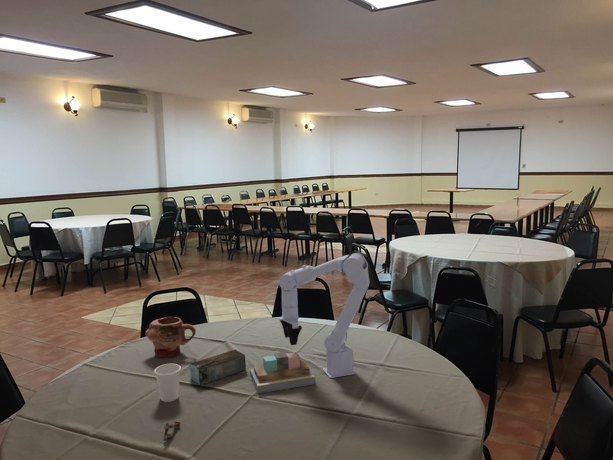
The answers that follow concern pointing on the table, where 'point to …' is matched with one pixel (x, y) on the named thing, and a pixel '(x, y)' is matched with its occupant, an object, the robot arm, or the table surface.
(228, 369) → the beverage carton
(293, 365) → the crate rose
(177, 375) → the dixie cup
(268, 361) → the block
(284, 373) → the pallet
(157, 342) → the terracotta mug
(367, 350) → the table surface
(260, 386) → the grey flat block
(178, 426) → the toy blaster gun
